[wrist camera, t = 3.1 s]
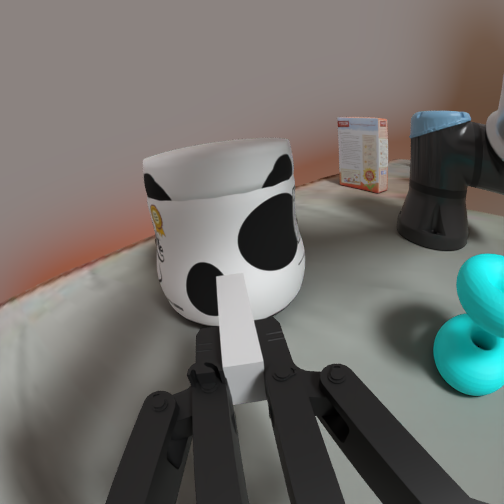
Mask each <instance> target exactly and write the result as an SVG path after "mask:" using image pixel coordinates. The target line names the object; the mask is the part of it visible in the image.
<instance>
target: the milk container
mask: <svg viewBox="0 0 504 504" xmlns="http://www.w3.org/2000/svg"><path fill="white" fill-rule="evenodd" d="M293 169H294V165H293V157H292V151H291V146H290V142H289V140H288V139H285V138H251V139H238V140H229V141H220V142H213V143H206V144H200V145H195V146H189V147H184V148H180V149H175V150H171V151H167V152H163V153H160V154H157V155H153V156H150V157H148V158H146V159H143V174H144V183H145V188H146V192H147V203H148V207H149V212H150V215H151V219H152V223H153V226H154V231H155V235H156V241H157V273H158V278H159V281H160V284H161V287H162V290H163V292H164V294H165V296H166V297H167V299H168V301H169V303H170V304H171V306H172V307H173V308H174V309H175V310H176V311H177V312H178V313H179V314H181V315H182V316H183V317H185V318H186V319H188V320H190V321H192V322H195V323H198V324H201V325H205V326H210V327H216V326H219V314H218V299H217V282H216V276H223V275H230V274H237V273H243V275H244V280H245V284H246V289H247V293H248V297H249V302H250V306H251V310H252V315H253V319H254V320H259V319H265V318H269V317H271V316H273V315H275V314H277V313H279V312H280V311H282V310H283V309H285V308H286V307H287V306H288V305H289V304H290V303H291V301H292V300H293V299H294V298H295V297H296V295H297V293H298V292H299V290H300V288H301V285H302V281H303V276H304V271H305V249H304V245H303V241H302V238H301V235H300V232H299V229H298V225H297V221H296V212H295V180H294V176H293Z"/></svg>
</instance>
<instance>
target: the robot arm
mask: <svg viewBox="0 0 504 504" xmlns="http://www.w3.org/2000/svg"><path fill="white" fill-rule="evenodd" d="M470 121H471V118H470V115H469V114H468V113H465V112H457V111H423V112H417V113H415V114H414V115H413V116H412V118H411V135H410V138H411V163H410V183H409V191H408V194H407V196H406V199H405V202H404V205H403V208H402V211H400V213H399V215H398V221H397V230H398V231H399V233H400V234H401V235H402V236H404V237H405V238H406V239H408V240H410V241H412V242H414V243H416V244H419V245H422V246H425V247H428V248H432V249H438V250H457V249H461V248H463V247H464V246H465V245H466V243H467V239H468V234H469V229H468V221H467V209H466V193H467V186H471V187H475V188H479V189H483V190H487V191H491V192H495V193H499V194H502V195H504V76H503V84H502V92H501V97H500V103H499V108H498V111H495V112H493V113H492V114H491V115H490V116H489V117H488V120H487V123H486V125H484V124H479V123H474V122H470ZM216 282H217V299H218V314H219V326H216V327H208V328H201V329H200V330H199V332H198V334H197V336H196V363H195V364H193V365H192V366H191V367H190V368H189V369H188V373H187V376H188V379H189V381H190V383H191V386H190V387H189V388H188V389H186V390H184V391H182V392H179V393H176V394H174V395H171V394H170V393H168V392H166V391H157V392H154V393H152V394H150V395H149V396H147V398H146V399H145V401H144V403H143V406H142V408H141V410H140V413H139V415H138V418H137V420H136V423H135V425H134V428H133V430H132V433H131V435H130V438H129V441H128V443H127V446H126V448H125V451H124V454H123V456H122V459H121V461H120V464H119V467H118V470H117V472H116V475H115V478H114V480H113V483H112V486H111V489H110V492H109V495H108V497H107V500H106V503H105V504H176V500H177V496H178V492H179V488H180V484H181V480H182V476H183V472H184V468H185V464H186V460H187V456H188V452H189V448H190V444H191V441H192V437H193V452H194V473H195V488H196V501H197V504H249V501H248V496H247V490H246V484H245V478H244V472H243V465H242V459H241V453H240V446H239V439H238V432H237V425H236V418H235V413H234V410H233V405H236V404H243V403H250V402H256V401H262V400H267V401H268V407H269V417H270V418H271V422H272V427H273V431H274V435H275V440H276V444H277V448H278V453H279V457H280V461H281V465H282V469H283V474H284V478H285V482H286V486H287V490H288V494H289V498H290V502H291V504H345V502H344V499H343V496H342V493H341V490H340V487H339V484H338V481H337V478H336V475H335V472H334V469H333V467H332V464H331V461H330V458H329V455H328V452H327V449H326V446H325V443H324V440H323V438H322V435H321V432H320V429H319V426H318V423H317V420H316V417H315V416H317V417H318V419H319V420H320V422H321V423H322V424H323V426H324V427H325V428H326V430H327V431H328V433H329V434H330V435H331V437H332V438H333V439H334V441H335V442H336V444H337V445H338V446H339V448H340V449H341V450H342V452H343V453H344V454H345V456H346V457H347V458H348V460H349V461H350V462H351V464H352V465H353V466H354V468H355V469H356V470H357V471H358V473H359V474H360V475H361V477H362V478H363V479H364V481H365V482H366V483H367V484H368V486H369V487H370V488H371V489H372V491H373V492H374V493H375V494H376V496H377V497H378V498H379V499H380V501H381V502H382V503H383V504H488V503H485V502H482V501H478V500H475V499H472V498H470V497H469V496H468V495H467V494H466V493H465V492H464V491H463V490H462V489H461V488H460V487H459V486H458V484H457V483H456V482H455V481H454V480H453V479H452V478H451V477H450V476H449V475H448V474H447V473H446V472H445V471H444V470H443V469H442V467H441V466H440V465H439V464H438V463H437V462H436V461H435V460H434V459H433V458H432V457H431V456H430V455H429V454H428V452H427V451H426V450H425V449H424V448H423V447H422V446H421V445H420V444H419V443H418V442H417V441H416V440H415V438H414V437H413V436H412V435H411V434H410V433H409V432H408V431H407V430H406V429H405V428H404V427H403V426H402V424H401V423H400V422H399V421H398V420H397V419H396V418H395V417H394V416H393V415H392V414H391V413H390V411H389V410H388V409H387V408H386V407H385V406H384V405H383V404H382V403H381V402H380V401H379V400H378V398H377V397H376V396H375V395H374V394H373V393H372V392H371V391H370V390H369V389H368V388H367V386H366V385H365V384H364V383H363V382H362V381H361V380H360V379H359V378H358V377H357V376H356V374H355V373H354V372H353V371H352V370H351V369H350V368H348V367H347V366H345V365H342V364H331V365H328V366H327V367H325V368H324V369H323V370H322V372H315V371H305V370H302V369H300V368H299V367H297V366H296V365H295V364H294V362H293V360H292V358H291V355H290V352H289V349H288V346H287V343H286V340H285V338H284V334H283V332H282V329H281V326H280V323H279V322H278V321H277V320H276V319H275V318H274V317H270V318H265V319H259V320H254V319H253V315H252V310H251V306H250V302H249V297H248V293H247V289H246V284H245V280H244V275H243V273H237V274H230V275H223V276H216Z"/></svg>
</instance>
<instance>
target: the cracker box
mask: <svg viewBox="0 0 504 504" xmlns="http://www.w3.org/2000/svg"><path fill="white" fill-rule="evenodd" d="M338 136H339V137H338V138H339V166H340V167H339V168H340V185H344V186H349V187H353V188H358V189H362V190H366V191H371V192H374V193H380V192H383V191H386V190H387V178H388V131H387V120H386V119H383V118H366V117H338Z"/></svg>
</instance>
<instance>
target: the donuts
mask: <svg viewBox="0 0 504 504" xmlns="http://www.w3.org/2000/svg"><path fill="white" fill-rule="evenodd" d="M456 286H457V293H458V297H459V300H460V303H461V305H462V307H463V308H464V310H465V311H466V314H460V315H457V316H455V317H453V318H451V319H449V320H448V321H447V322H446V323H445V324H444V325H443V326H442V327H441V328H440V330H439V331H438V333H437V335H436V338H435V341H434V347H433V354H434V360H435V364H436V367H437V369H438V371H439V373H440V374H441V376H442V377H443V378H444V380H445V381H446V382H447V383H448V384H449V385H451V386H452V387H453V388H455V389H456V390H458V391H460V392H462V393H465V394H468V395H473V396H483V395H487V394H490V393H493V392H495V391H497V390H498V389H499V388H501V387H502V386H503V385H504V256H501V255H496V254H480V255H476V256H473V257H471V258H470V259H468V260H467V261H466V262H465V263H464V264H463V265H462V267H461V268H460V270H459V273H458V276H457V284H456ZM475 344H477V345H479V346H480V347H482V348H483V349H484V350H482V349H480V348H478V347H477V346H476V345H475Z"/></svg>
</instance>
